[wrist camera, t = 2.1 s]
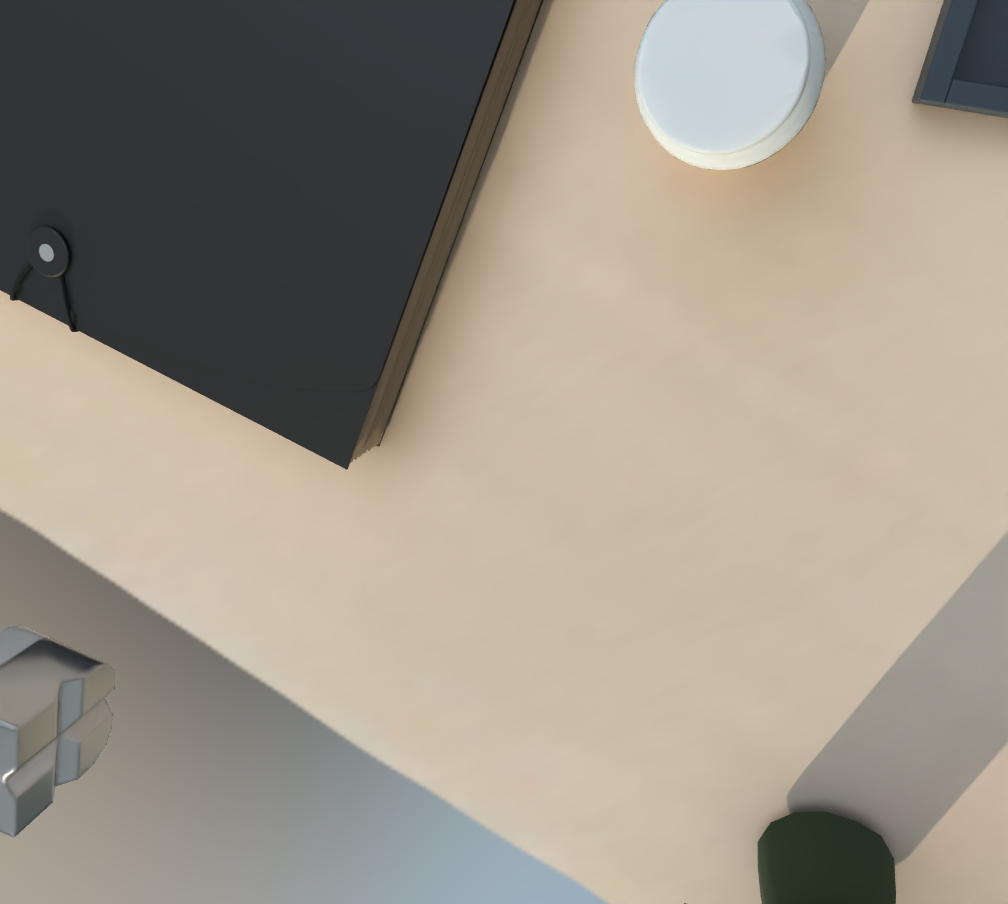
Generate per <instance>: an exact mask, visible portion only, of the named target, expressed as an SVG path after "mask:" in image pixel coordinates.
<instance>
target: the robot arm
mask: <svg viewBox="0 0 1008 904" xmlns="http://www.w3.org/2000/svg"><path fill="white" fill-rule="evenodd" d="M115 671H116V670H115V669H114V668H113V667H112V666H110V665H109V664H108V663H105V662H103V661H101V660H99V659H96V658H94V657H92V656H90V655H88V654H85V653H83V652H81V651H79V650H76V649H74V648H72V647H70V646H68V645H65V644H63V643H61V642H59V641H57V640H54V639H52V638H48V637H46V636H44V635H41V634H39V633H37V632H35V631H33V630H30V629H28V628H26V627H24V626H21V625H20V626H14V627H8V628H6V629H5V630H3V631H2V632H0V832H2V833H4V834H7V835H9V836H11V837H15V836H16V835H17V834H18V833H20V832H21V831H22V830H23V829H24V828H25V827H26V826H27V825H28V824H29V823H30V822H31V821H33V820H34V819H35V818H36V817H37V816H38V815H39V814H40V813H41V812H43V811H44V810H45V809H46V808H47V807H48V806H49V805H50V804H51V803H52V802H53V798H54V792H55V786H58V785H61V784H64V783H67V782H71V781H73V780H77V779H78V778H80V777H81V776H82V775H83V774H84V773H85V772H86V771H87V770H88V769H89V768H90V767H91V766H92V765H93V764H94V763H95V761H96V760H97V758H98V756H99V755H100V753H101V752H102V750H103V749H104V747H105V745H106V744H107V741H108V738H109V735H110V732H111V729H112V720H113V713H112V711H111V709H110V707H109V705H108V703H107V701H106V699H105V697H106V696H107V695H108V694H109V693H110V692H112V691H113V690H114V689H115ZM684 904H686V903H684Z"/></svg>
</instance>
